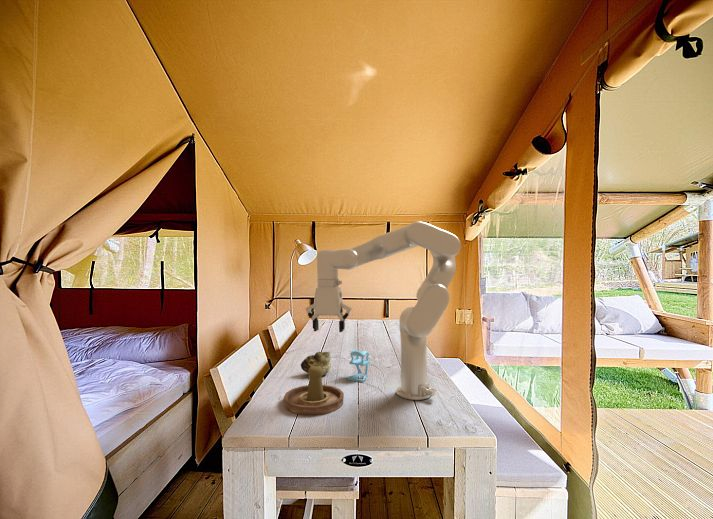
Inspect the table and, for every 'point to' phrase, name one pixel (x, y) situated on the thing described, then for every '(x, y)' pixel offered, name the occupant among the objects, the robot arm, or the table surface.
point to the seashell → (317, 362)
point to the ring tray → (299, 404)
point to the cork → (315, 384)
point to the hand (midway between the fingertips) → (328, 331)
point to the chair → (359, 362)
